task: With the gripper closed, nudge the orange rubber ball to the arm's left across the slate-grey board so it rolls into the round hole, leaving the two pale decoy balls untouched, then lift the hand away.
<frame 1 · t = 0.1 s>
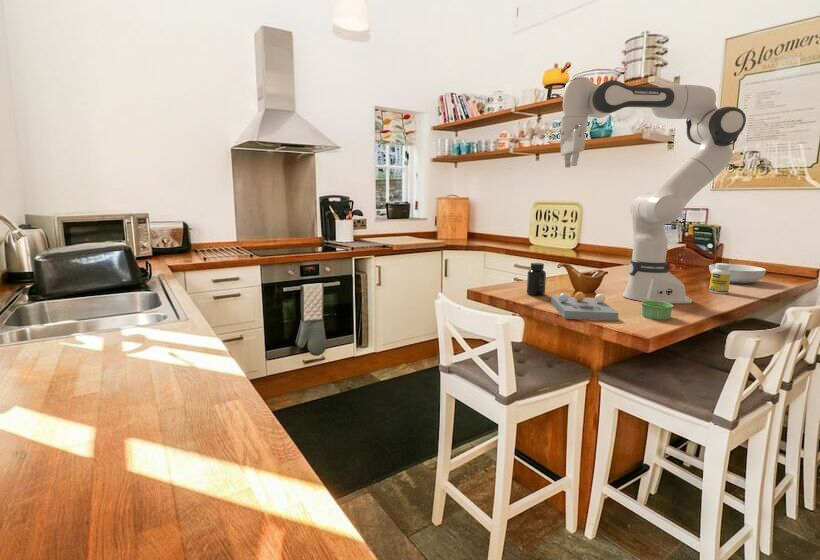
hand: (570, 166, 161), 48 cm above the counter, tool pointing down, fingers open, 8 cm apart
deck: (581, 311, 147), on the counter
ramekin: (655, 317, 142), on the counter
ball: (579, 296, 150), point 4 cm above the counter, touching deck
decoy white: (599, 298, 148), point 4 cm above the counter, touching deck
pill bottle: (718, 292, 180), on the counter
supplement bottle: (535, 294, 172), on the counter
serving bowl: (734, 282, 203), on the counter
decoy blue: (563, 297, 148), point 4 cm above the counter, touching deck
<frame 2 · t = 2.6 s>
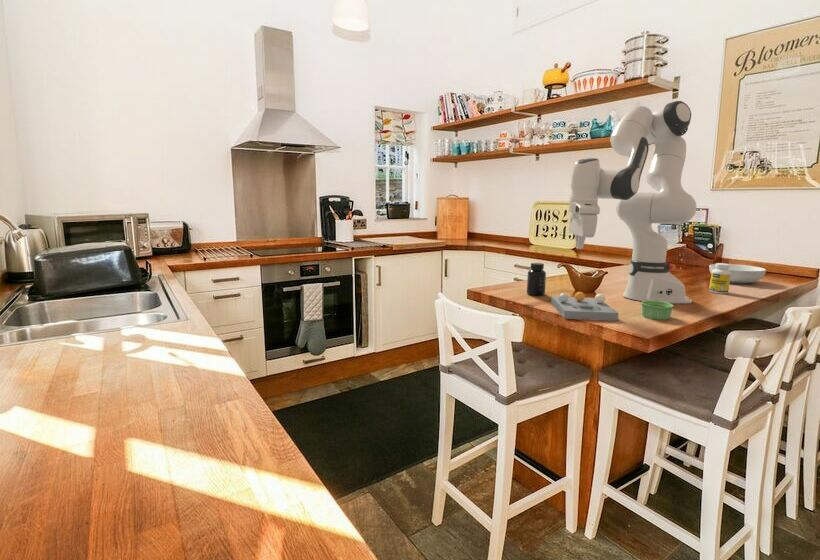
hand: (579, 248, 152), 20 cm above the counter, tool pointing down, fingers closed
nothing on the counter moved.
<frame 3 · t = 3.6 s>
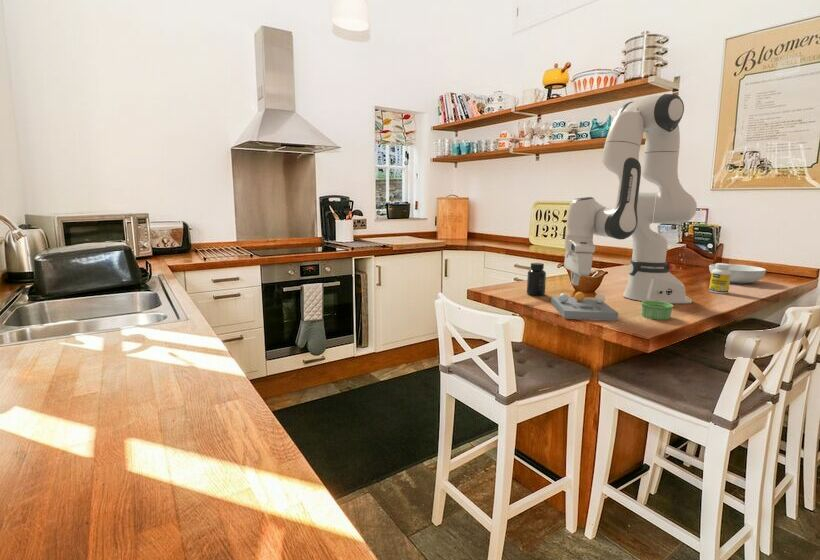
hand: (574, 284, 154), 7 cm above the counter, tool pointing down, fingers closed
nothing on the counter moved.
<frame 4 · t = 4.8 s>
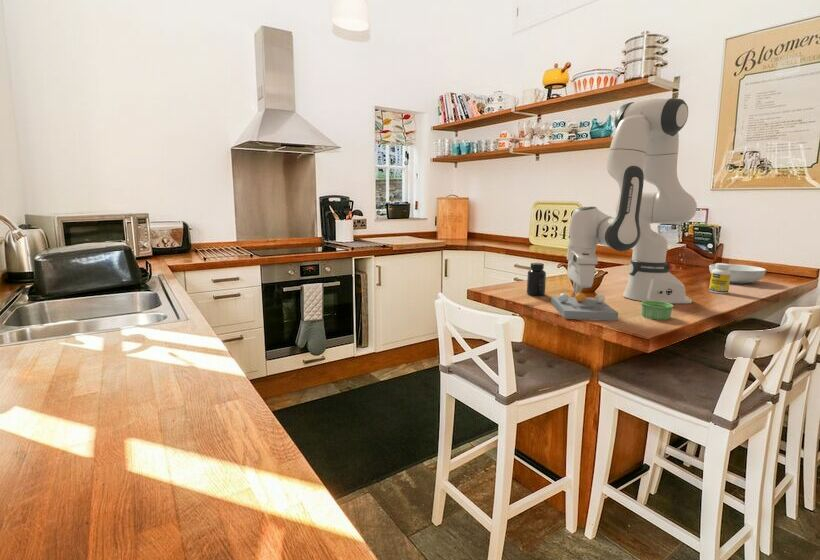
hand: (577, 295, 152), 4 cm above the counter, tool pointing down, fingers closed
ball: (580, 297, 149), point 4 cm above the counter, tilted 35°, touching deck
everything else where it was.
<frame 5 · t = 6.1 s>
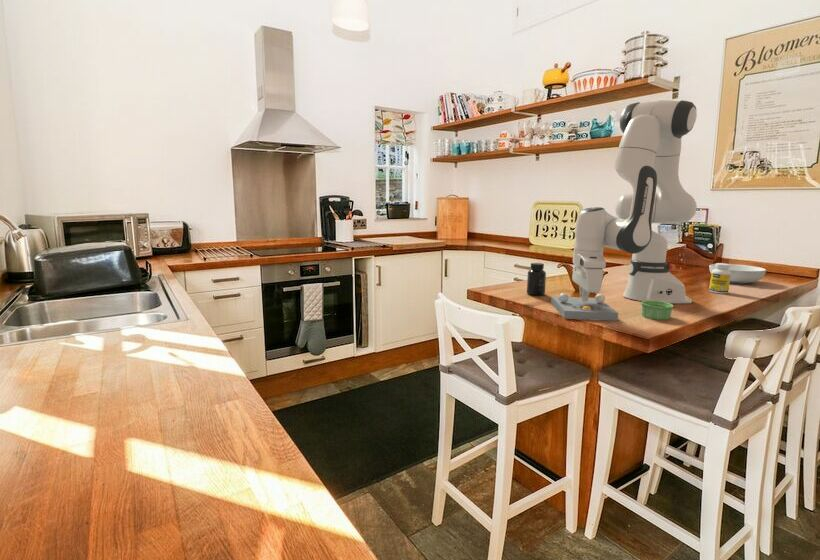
hand: (583, 300, 145), 4 cm above the counter, tool pointing down, fingers closed
ball: (586, 310, 141), point 2 cm above the counter, tilted 25°
everything else where it was.
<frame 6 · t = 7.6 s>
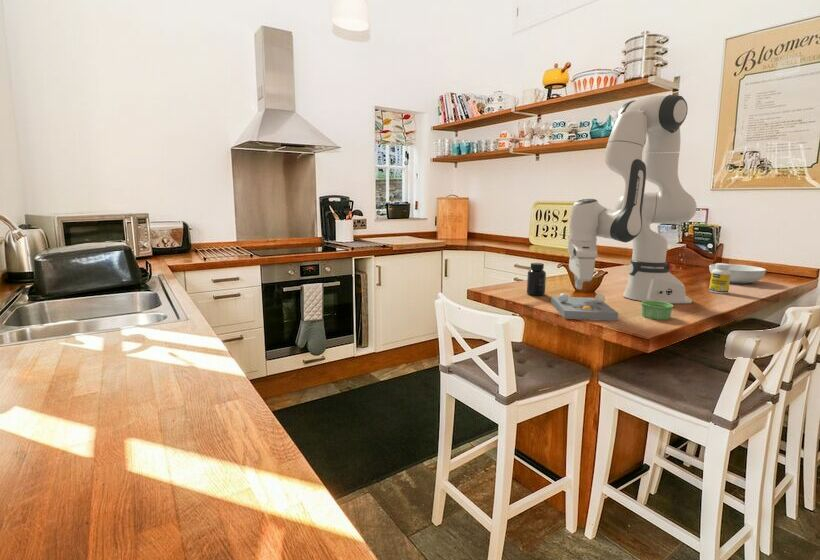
hand: (578, 288, 152), 6 cm above the counter, tool pointing down, fingers closed
ball: (586, 310, 142), point 2 cm above the counter, tilted 14°
everything else where it was.
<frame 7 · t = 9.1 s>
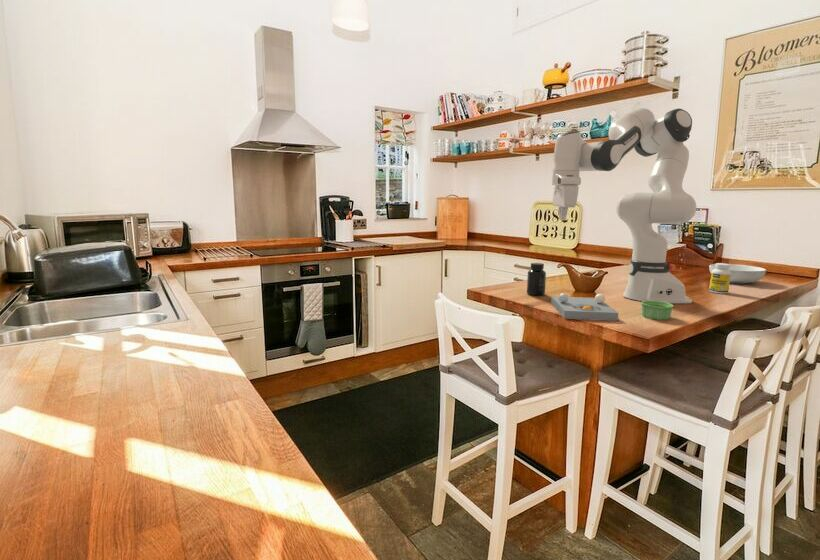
hand: (562, 219, 157), 29 cm above the counter, tool pointing down, fingers closed
ball: (587, 310, 142), point 2 cm above the counter, tilted 6°
everything else where it was.
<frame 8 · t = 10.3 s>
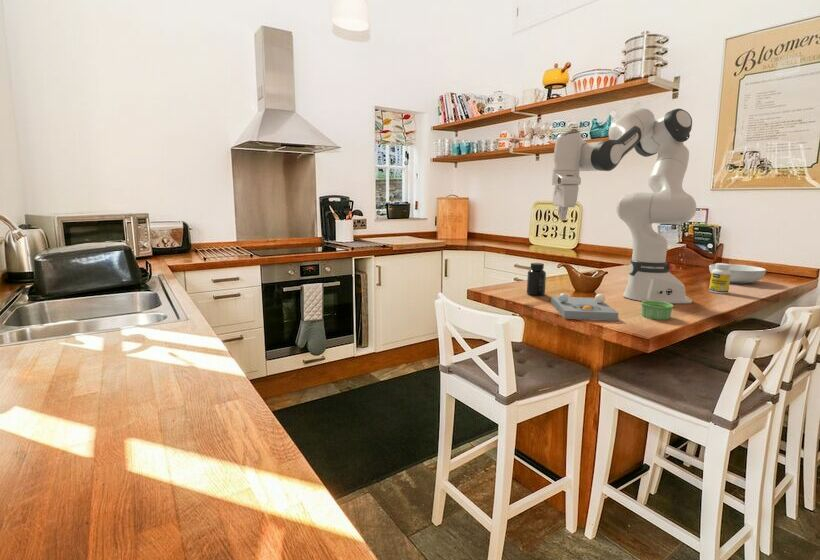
hand: (562, 219, 158), 29 cm above the counter, tool pointing down, fingers closed
nothing on the counter moved.
at the end: ball 0.4 cm from the target spot in the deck, point 1.6 cm above the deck's base; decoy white moved 0.0 cm from its start; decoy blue moved 0.0 cm from its start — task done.
